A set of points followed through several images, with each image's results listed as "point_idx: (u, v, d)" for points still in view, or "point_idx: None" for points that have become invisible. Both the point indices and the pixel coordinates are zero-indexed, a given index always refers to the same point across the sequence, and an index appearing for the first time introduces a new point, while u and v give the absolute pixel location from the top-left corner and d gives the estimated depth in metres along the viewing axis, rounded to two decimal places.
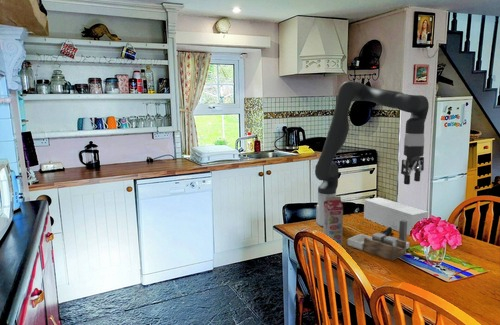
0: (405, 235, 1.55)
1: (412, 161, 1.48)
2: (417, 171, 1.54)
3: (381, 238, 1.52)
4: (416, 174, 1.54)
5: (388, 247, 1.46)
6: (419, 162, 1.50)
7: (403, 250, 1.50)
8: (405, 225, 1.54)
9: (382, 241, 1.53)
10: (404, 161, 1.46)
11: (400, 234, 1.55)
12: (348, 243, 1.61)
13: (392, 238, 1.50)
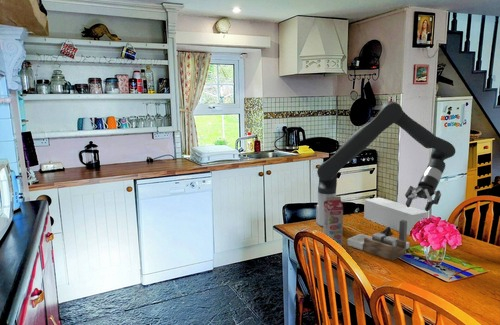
0: (405, 235, 1.55)
1: None
2: (411, 198, 1.66)
3: (381, 238, 1.52)
4: (410, 200, 1.65)
5: (388, 247, 1.46)
6: None
7: (403, 250, 1.50)
8: (405, 225, 1.54)
9: (382, 241, 1.53)
10: (440, 193, 1.59)
11: (400, 234, 1.55)
12: (348, 243, 1.61)
13: (392, 238, 1.50)
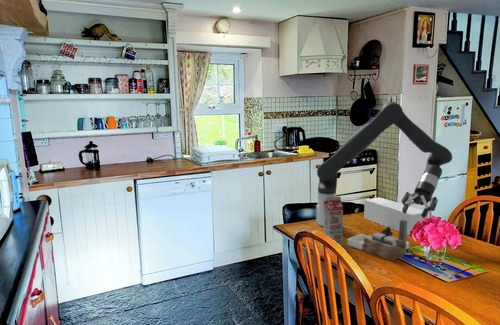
0: (405, 235, 1.55)
1: None
2: (407, 204, 1.64)
3: (381, 238, 1.52)
4: (406, 207, 1.64)
5: (388, 247, 1.46)
6: None
7: (403, 250, 1.50)
8: (405, 225, 1.54)
9: (382, 241, 1.53)
10: (436, 199, 1.58)
11: (400, 234, 1.55)
12: (348, 243, 1.61)
13: (392, 238, 1.50)
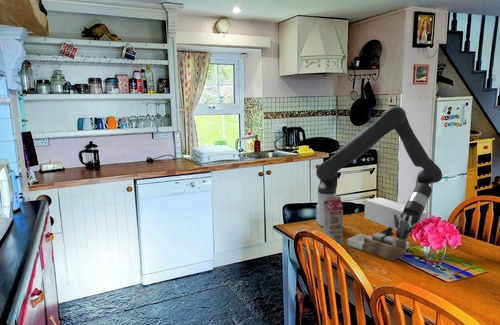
0: None
1: None
2: None
3: (381, 238, 1.52)
4: None
5: (388, 247, 1.46)
6: None
7: (403, 250, 1.50)
8: (405, 225, 1.54)
9: (382, 241, 1.53)
10: None
11: (400, 233, 1.55)
12: (348, 243, 1.61)
13: (392, 238, 1.50)
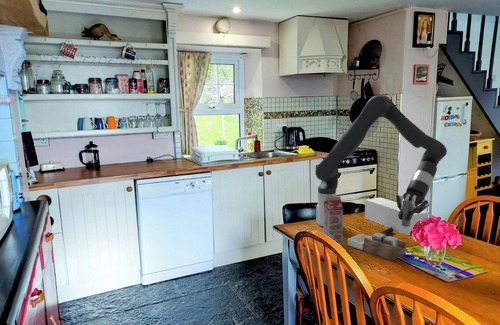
0: None
1: None
2: None
3: (381, 238, 1.52)
4: None
5: (388, 247, 1.46)
6: None
7: (403, 250, 1.50)
8: (408, 205, 1.42)
9: (382, 241, 1.53)
10: (427, 203, 1.40)
11: (403, 215, 1.43)
12: (348, 243, 1.61)
13: (392, 238, 1.50)
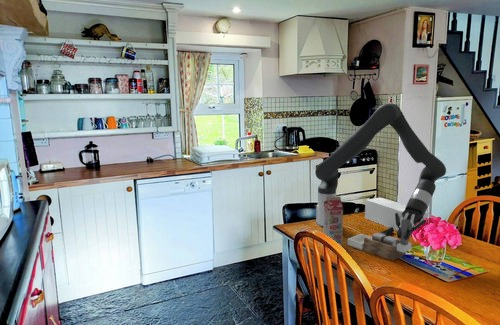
0: None
1: None
2: None
3: (381, 238, 1.52)
4: None
5: (388, 247, 1.46)
6: None
7: None
8: (407, 224, 1.43)
9: (382, 241, 1.53)
10: None
11: (402, 233, 1.45)
12: (348, 243, 1.61)
13: (392, 238, 1.50)
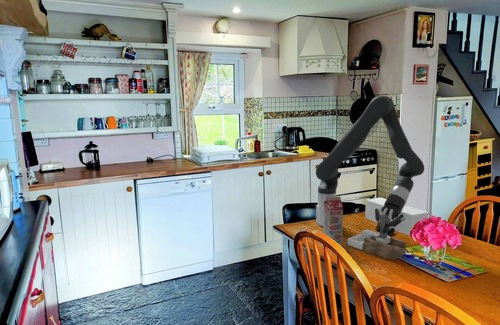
0: None
1: None
2: None
3: None
4: None
5: (388, 247, 1.46)
6: None
7: (403, 250, 1.50)
8: (385, 219, 1.50)
9: None
10: (403, 217, 1.49)
11: (381, 228, 1.52)
12: (348, 243, 1.61)
13: (377, 233, 1.56)
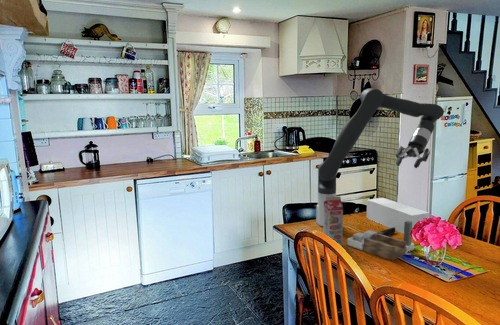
0: (410, 236, 1.54)
1: None
2: (401, 158, 1.72)
3: (355, 234, 1.62)
4: (400, 159, 1.71)
5: (388, 247, 1.46)
6: None
7: (403, 250, 1.50)
8: (410, 226, 1.53)
9: (359, 235, 1.61)
10: (428, 150, 1.65)
11: (405, 235, 1.54)
12: (348, 243, 1.61)
13: (372, 232, 1.58)
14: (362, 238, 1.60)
